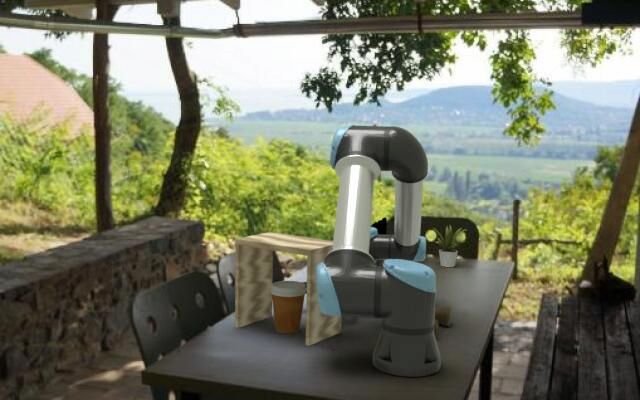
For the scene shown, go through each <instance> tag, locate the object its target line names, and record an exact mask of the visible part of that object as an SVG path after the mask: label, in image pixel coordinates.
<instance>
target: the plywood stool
mask: <svg viewBox="0 0 640 400" xmlns="http://www.w3.org/2000/svg"><path fill="white" fill-rule="evenodd" d="M332 248H333V240H328V239H323V238H321V239H320V238H314V237H307V236H301V235H300V236H299V235H293V234H285V233H280V232H271V231H270V232H269V231H268V232H264V233H259V234H254V235H253V234H252V235H249V236H243V237H242V236H241V237H237V238H235V269H234V270H235V275H234V277H235V283H234V284H235V286H234V290H235V292H234V293H235V294H234V295H235V296H234V298H235V299H234V301H235V303H234V306H235V307H234V309H235V310H234V311H235V312H234V318H235V319H234V327H235V328H237V329H239V328H242V327H246V326H249V325H250V324H253V323H256V322H259V321H262V320H265V319H268V318H271V317H273V301H272V293H271V291H270V288H271V286H272V284H273V272H274V270H273V269H274V268H273V266H274V265H273V262H274V261H273V260H274V251H275V252H281V253H288V254H294V255H300V256H306V257H307V258H306V261H307V262H306V264H307V265H306V266H307V267H306V282H307V294H306V306H305V307H306V308H305V309H306V310H305V313H306V314H305V315H306V316H305V346H309V347H310V346H311V345H314V344H316V343H320V342H322V341H323V340H326V339H329V338H331V337H333V336H335V335H338V334H340V333H342V317H338V316H330V315H324V314H323V313H322V312H321V311H320V308H319V303H318V292H317V265H318V264H319V263H324V261H325V257H326V255H327V254H328V253H329V252H330V251H332Z"/></svg>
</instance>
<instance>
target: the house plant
mask: <svg viewBox="0 0 640 400" xmlns="http://www.w3.org/2000/svg"><path fill="white" fill-rule="evenodd" d="M445 226H446V228H445V240H444V237H443V235H442V234H441V233H440V231H438V230H437V229H436V228H434V230H435V231H436V232H437V233H438V235H439V237H440V238H441V239H440V238H439V237H437V241H435V243H436V244H438V245H439V246H440V249H439V250H438V254H439V255H438V256H439V261H440V262H439V263H440V267H441V266H445V267H453V266H456V262H457V257H458V253H459V251H458V250H457V249H456V248H457V247H458V246H459V245H460V244H462V243H463V244H465V240H463V241H460V243H459V241H457V240H458V239H459V238H460V237H461V236H462V235H463V233H462V232H464V231H466V229H463V227H461V228H459V229H456V231H455V232H454V233H453V228H452V225H449V227H448V225H447V224H445ZM462 229H463V230H462ZM461 233H462V234H461ZM458 243H459V244H458ZM453 248H454V249H453Z"/></svg>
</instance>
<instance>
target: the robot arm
mask: <svg viewBox="0 0 640 400" xmlns="http://www.w3.org/2000/svg"><path fill="white" fill-rule="evenodd" d="M331 141H332V142H331V146H330V147H331V149H330V153H329V154H330V155H329V156H330V158H329V159H330V167H331V168H332V170H334V172H335V174H336V176H337V177H338V178H339V184H338V185H339V186H338V193H337V194H338V195H337V201H336V202H337V203H336V214H335V223H334V231H333V240H332V241H333V248H332V251H330V252H329V253H328V254H327V255H326V257H325V261H324V263H319V264H318V265H317V292H318V303H319V308H320V311H321V312H322V313H323V314H324V315H330V316H338V317H341V318H360V319H361V318H362V319H378V320H379V319H380V320H381V331H380V334H379V336H378V339H377V342H376V345H375V347H374V350H373V353H372V365H373V366H374V367H375V369H376V370H379V371H381V372H383V373H386V374H389V375H392V376H399V377H408V378H411V377H413V378H416V377H418V378H419V377H424V376H425V377H426V375H427V376H430V374H431V375H434V374H435V372H436V373H438V372H439V371H440V370H441V368H440V367H442V365H441V364H442V363H441V362H442V358H441V353H440V349H439V347H438V346H439V345H438V342H437V339H436V337H435V335H434V318H435V308H436V307H435V306H436V293H437V289H438V288H437V284H436V283H437V281H436V278H437V277H436V273H435V271H434V269H432V268H431V267H430V266H427V264H423V263H420V262H423V261H424V260H425V259H426V255H427V253H426V252H427V239H426V237H425V236H423V235H422V236H421V225H422V208H423V195H424V194H423V191H424V180H426V178H427V177H428V172H429V162H428V161H429V159H428V157H427V153H426V151H425V148H424V146H423V145H422V143H421V142H420V141H419V139H417V137H416V136H415V135H414V134H412V133H411V132H410V131H408V130H406V129H404V128H403V127H400V126H395V125H393V126H392V125H390V126H387V125H386V126H383V125H382V126H381V125H380V126H379V125H355V124H351V125H341V126H338V128H337V129H336V130H335V132H334V134H333V137H332V140H331ZM382 172H391V175H392V178H393V179H394V181H395V182H394V224H393V225H394V231H393V232H394V233H393V234H386V235H382V234H378V233H377V229H376V228H373V227H371V225H372V215H373V214H372V213H373V212H372V211H373V199H374V185H375V182H376V181H377V180H378V179H379V177H380V176H381V173H382ZM377 259H378V260H384V261H383V262H382V266H381V265H376V260H377ZM301 282H302V283H304V284H305V287H306V289H307V281H301ZM305 295H307V291H306V293H305ZM439 369H440V370H439ZM438 370H439V371H438ZM437 371H438V372H437ZM433 373H434V374H433Z"/></svg>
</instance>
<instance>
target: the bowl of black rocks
mask: <svg viewBox="0 0 640 400" xmlns="http://www.w3.org/2000/svg"><path fill="white" fill-rule="evenodd" d="M387 221H388V219H387V217H382V219H379V220H378V221H375V222H374V223H371V227H373V228H376V229H377V233H378V234H382V235H387V229H388V228H387V226H388V222H387ZM384 261H385V260H378V259H377V260H376V266H379V265H380V264H383V263H384Z"/></svg>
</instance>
